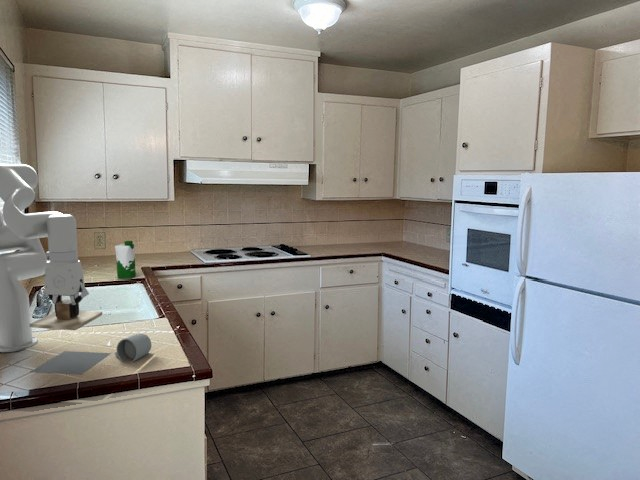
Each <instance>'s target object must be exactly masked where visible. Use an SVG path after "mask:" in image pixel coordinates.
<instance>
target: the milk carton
mask: <svg viewBox="0 0 640 480" xmlns="http://www.w3.org/2000/svg"><path fill="white" fill-rule="evenodd" d="M135 248H136V244H135V243H133V240H125V241H124V243H120V244H117V245H115V246H114V250H115V259H116V260H115V261H116V273H117V274H116V275H117V276H116V277H117V279H119V280H124V279H125V280H130V279H133V278H135V277H137V273H136V271H137V270H136V256H135V253H136V252H135V251H136V249H135Z"/></svg>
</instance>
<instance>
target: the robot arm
mask: <svg viewBox="0 0 640 480" xmlns="http://www.w3.org/2000/svg"><path fill="white" fill-rule="evenodd" d="M38 183H39V176H38V174H37V171H36V170H35V169H34V168H33V167H32V166H30V165H28V164H24V163H21V164H20V163H19V164H18V163H15V164H13V163H10V164H9V163H0V199H1V200H2V201H3V202H4V203H3V206H2V209H0V353H13V352H19V351H25V350H26V349H28V348H29V347H32V346H34V345H36V344H38V343H39V339H38V337H36V336H33V331H32V330H33V328H32V327H30V324H31V323H32V320H31V319H32V318H31V309H30V308H31V307H30V298H29V293H28V290H27V289H26V287H24V286H23V285H22V284H21V283H20V281H23V280H28V279H32V278H39V277H40V276H43V275H44V289H43V290H42V293H43V294H44V295H46V296H47V297H48V298H49V299H50V301H52V302H51V303H52V304H53V305H54V312H55V313H56V317H57V312H56V303H58V302H60V301H62V300H63V297H69V298H70V299H69V300H71V305H70V316H71V318H74V317H76V316H78V315H79V310H80V303H81V301H83V299H84V298H86V297H88V296H89V295H90V293H89V291H88V289H87V288H86V287H85V277H84V271H83V267H82V266H83V265H82V263H81V260H79V254H78V253H79V252H78V236H77V235H78V234H77V220H76V218H75V216H73V215H72V214H66V213H65V214H63V213H62V212H59V211H43V212H31V213H29V212H28V213H23V212H22V211H23V210H25V209H27V208H28V207H30V206H31V205H32V204H33V202H34V201H35V198H36V193H35V191H34V189H35V188H36V187H37V186H38ZM41 238H42V239H43V238H44V239H45V238H47V245H48V246H47V247H48V248H47V249H48V251H46V252H45V249H44V247H43V245H42V242H41V240H40V239H41ZM18 250H19V251H18ZM4 252H5V253H4Z"/></svg>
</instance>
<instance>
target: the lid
mask: <svg viewBox="0 0 640 480" xmlns="http://www.w3.org/2000/svg"><path fill="white" fill-rule="evenodd" d="M70 305H71V300H70V299H62V301H60V302H58V303H56V312H57V317H56V313H55V311H54V312H52V313H50V314H48V315H45V316H44V317H41V318H39V319H37V320H35V321H33V322H31V324H30V327H31V328H32V329H34V328H35V329H36V328H37V329H48V330H49V329H51V330H64V331H65V330H66V331H78V330H79V329H81V328H82V327H84V326H85V325H88V324H89V323H91V322H92V321H94V320H96V319H99V317H101V316H103V311H95V310H93V311H91V310H80V309H79V315H78V316H76V317H74V318H71V316H70Z"/></svg>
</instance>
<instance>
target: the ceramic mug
mask: <svg viewBox="0 0 640 480" xmlns="http://www.w3.org/2000/svg"><path fill="white" fill-rule="evenodd" d="M151 350H152V341H151V338H150V337H149V336H148V335H147V334H145V333H136V334H134V335H131V336H128V337H126V338H122V339H121V340H119V341H118V343H117V346H116V352H114V355H115V357H116V358H119V359H120V360H121V361H125V360H127V359H133V360H132V361H130V363H134V362H136V361H137V360H139V359H141V358H142V357H145V356H146V355H147V354H149V352H150V351H151Z"/></svg>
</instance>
